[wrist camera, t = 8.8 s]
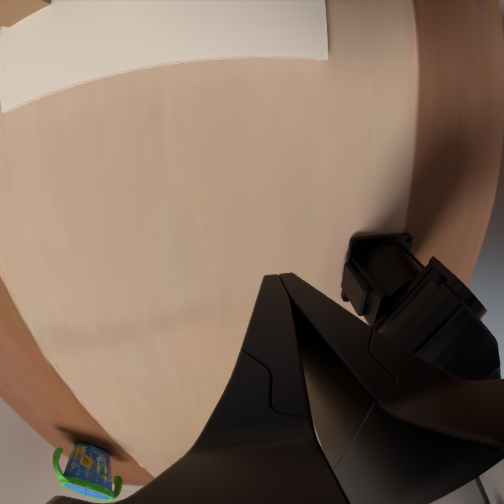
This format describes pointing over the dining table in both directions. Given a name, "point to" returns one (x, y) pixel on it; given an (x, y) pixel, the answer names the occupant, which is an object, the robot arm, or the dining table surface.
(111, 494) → the snack cup
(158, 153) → the dining table surface
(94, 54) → the base
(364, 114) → the dining table surface
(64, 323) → the dining table surface
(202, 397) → the dining table surface
